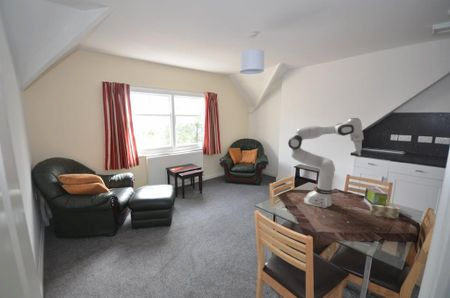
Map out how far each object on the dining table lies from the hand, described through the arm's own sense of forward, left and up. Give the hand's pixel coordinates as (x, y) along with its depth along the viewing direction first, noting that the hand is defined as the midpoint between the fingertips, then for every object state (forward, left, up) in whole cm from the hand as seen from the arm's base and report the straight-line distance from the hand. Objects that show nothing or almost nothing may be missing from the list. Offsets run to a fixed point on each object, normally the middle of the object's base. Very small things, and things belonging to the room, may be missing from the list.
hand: (359, 154), depth 167 cm
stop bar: (+19, -13, -45) cm, 51 cm away
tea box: (+19, +5, -46) cm, 50 cm away
